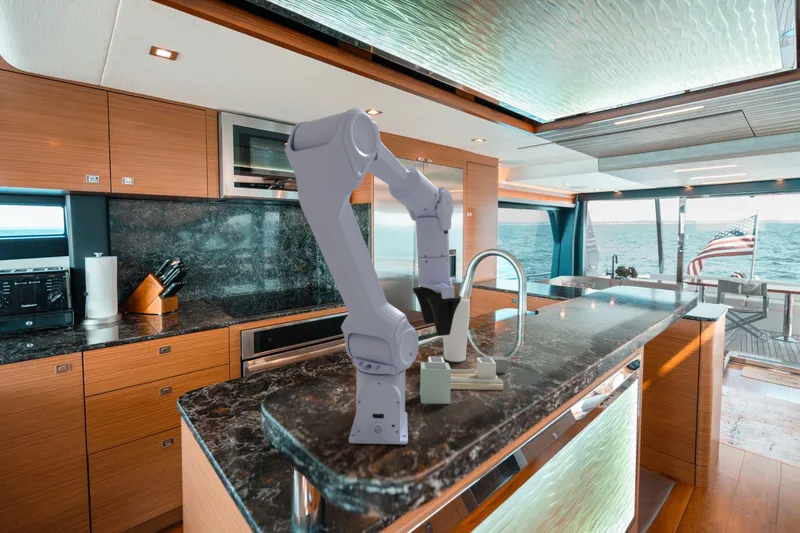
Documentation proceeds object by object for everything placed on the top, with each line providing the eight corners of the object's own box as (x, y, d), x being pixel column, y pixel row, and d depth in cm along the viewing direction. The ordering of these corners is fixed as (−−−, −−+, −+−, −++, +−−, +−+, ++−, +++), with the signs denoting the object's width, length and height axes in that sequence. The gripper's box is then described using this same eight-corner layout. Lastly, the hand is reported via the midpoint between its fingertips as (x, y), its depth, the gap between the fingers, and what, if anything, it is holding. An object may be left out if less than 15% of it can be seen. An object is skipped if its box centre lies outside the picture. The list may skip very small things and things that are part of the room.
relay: (506, 373, 82) (506, 359, 82) (488, 373, 82) (488, 359, 82) (502, 369, 85) (503, 356, 85) (485, 368, 85) (485, 355, 85)
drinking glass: (435, 359, 91) (436, 298, 91) (451, 354, 96) (452, 296, 96) (458, 365, 87) (459, 300, 86) (474, 359, 92) (475, 298, 91)
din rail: (502, 383, 72) (502, 380, 72) (424, 381, 72) (424, 378, 72) (494, 372, 79) (494, 369, 79) (422, 371, 79) (422, 368, 79)
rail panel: (503, 389, 72) (503, 384, 72) (424, 388, 72) (424, 383, 72) (493, 376, 80) (493, 371, 80) (422, 374, 80) (422, 370, 80)
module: (450, 404, 65) (451, 368, 64) (421, 403, 65) (421, 368, 64) (447, 395, 69) (448, 362, 68) (420, 394, 69) (420, 361, 68)
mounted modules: (495, 381, 74) (496, 362, 73) (429, 379, 74) (429, 361, 74) (490, 374, 78) (491, 357, 77) (427, 373, 78) (428, 356, 78)
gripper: (470, 258, 62) (473, 337, 64) (440, 250, 76) (443, 316, 78) (429, 261, 60) (433, 343, 62) (407, 253, 74) (410, 320, 76)
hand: (436, 328), depth 70 cm, fingers open, 7 cm apart
